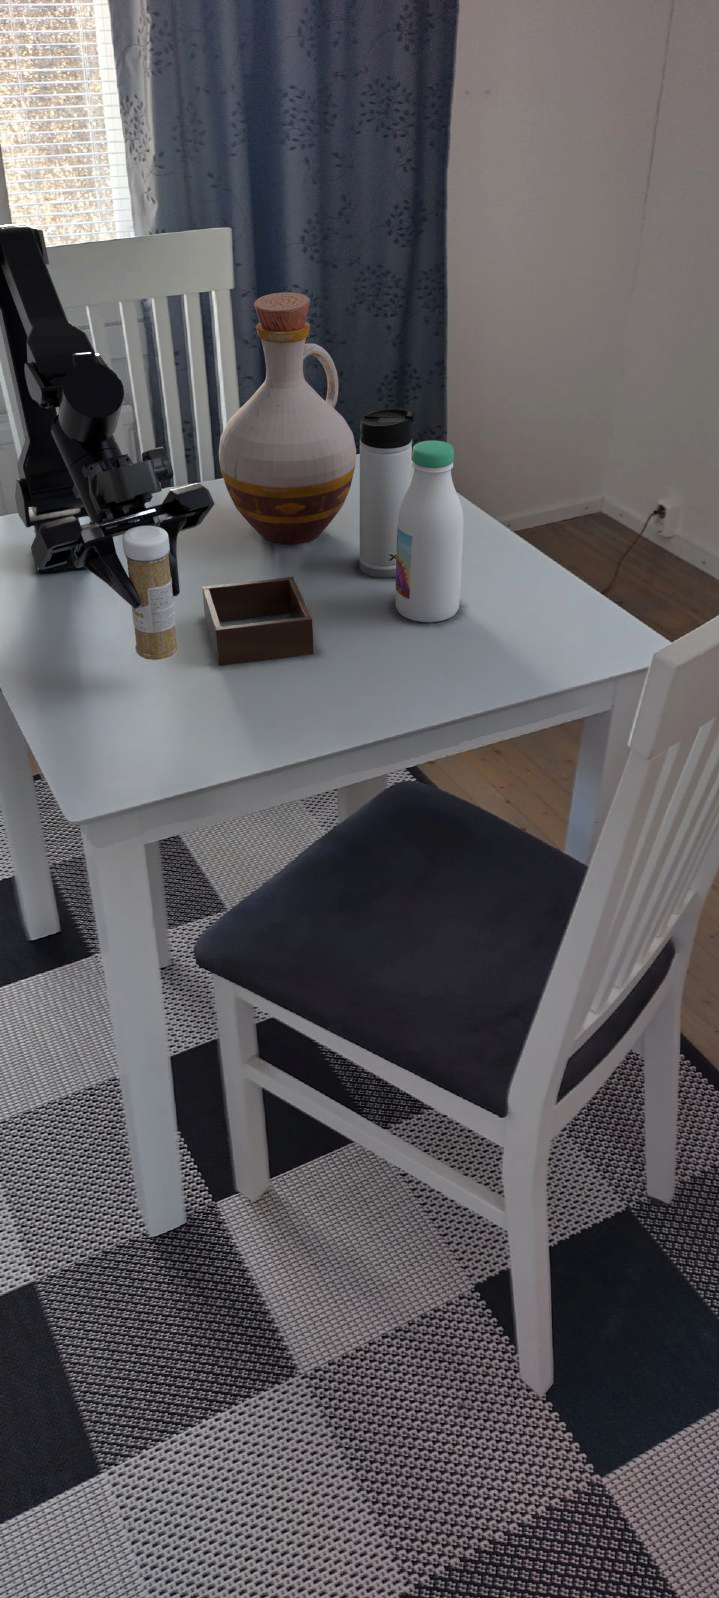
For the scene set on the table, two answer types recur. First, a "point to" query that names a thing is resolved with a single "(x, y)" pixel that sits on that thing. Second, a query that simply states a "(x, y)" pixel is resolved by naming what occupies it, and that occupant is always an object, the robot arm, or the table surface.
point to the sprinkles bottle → (151, 591)
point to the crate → (262, 636)
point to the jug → (288, 435)
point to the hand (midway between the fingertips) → (157, 600)
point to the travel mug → (383, 486)
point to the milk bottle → (429, 538)
